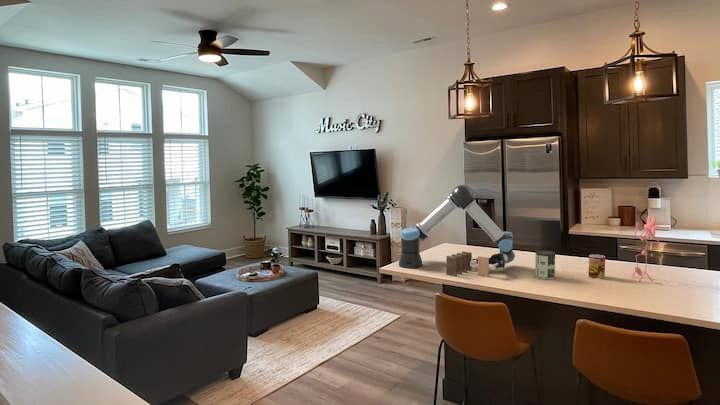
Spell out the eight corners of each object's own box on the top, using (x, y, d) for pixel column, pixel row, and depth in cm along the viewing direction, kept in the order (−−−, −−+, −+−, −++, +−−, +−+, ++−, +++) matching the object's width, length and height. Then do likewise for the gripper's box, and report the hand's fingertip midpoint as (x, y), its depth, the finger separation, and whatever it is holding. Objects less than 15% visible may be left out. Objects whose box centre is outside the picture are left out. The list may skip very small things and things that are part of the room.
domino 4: (470, 271, 256) (470, 253, 255) (461, 269, 260) (461, 251, 259) (471, 270, 257) (471, 252, 256) (462, 269, 261) (462, 251, 261)
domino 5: (487, 276, 242) (487, 257, 242) (477, 275, 247) (477, 256, 246) (488, 276, 244) (488, 257, 243) (479, 274, 248) (479, 255, 247)
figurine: (644, 285, 219) (648, 218, 216) (623, 273, 244) (627, 212, 241) (677, 287, 216) (682, 219, 213) (653, 275, 241) (657, 213, 238)
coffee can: (552, 274, 244) (552, 250, 243) (556, 279, 234) (557, 254, 233) (533, 274, 246) (533, 250, 245) (537, 279, 236) (537, 253, 235)
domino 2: (460, 274, 248) (460, 256, 247) (451, 272, 253) (451, 254, 252) (461, 274, 249) (462, 255, 249) (453, 272, 254) (453, 254, 253)
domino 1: (455, 276, 244) (455, 257, 244) (446, 274, 249) (446, 256, 248) (456, 275, 246) (456, 257, 245) (448, 274, 250) (448, 255, 249)
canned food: (585, 276, 240) (585, 255, 239) (595, 274, 243) (596, 253, 242) (597, 279, 233) (598, 257, 232) (607, 278, 236) (608, 256, 235)
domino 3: (465, 272, 252) (465, 254, 251) (456, 271, 256) (456, 253, 256) (466, 272, 253) (466, 254, 252) (458, 270, 258) (458, 252, 257)
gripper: (518, 268, 250) (501, 275, 235) (479, 262, 267) (462, 268, 252) (518, 256, 249) (502, 262, 234) (479, 250, 267) (462, 256, 251)
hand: (481, 265), depth 243 cm, fingers open, 13 cm apart
